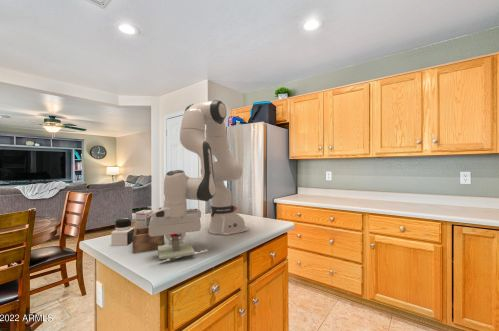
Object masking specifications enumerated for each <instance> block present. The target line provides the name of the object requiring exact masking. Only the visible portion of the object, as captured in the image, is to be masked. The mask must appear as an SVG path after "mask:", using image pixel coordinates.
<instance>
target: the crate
mask: <svg viewBox="0 0 499 331" xmlns="http://www.w3.org/2000/svg"><path fill="white" fill-rule="evenodd" d="M161 245H165V235H161V236H153V237H150V236H149V227H145V228H136V227H135V228H134V233H133V242H132V254H138V253H144V252H145V253H146V252H151V251H158V246H161Z"/></svg>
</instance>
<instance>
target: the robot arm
mask: <svg viewBox="0 0 499 331" xmlns="http://www.w3.org/2000/svg"><path fill="white" fill-rule="evenodd" d="M182 116H183V117H182V119H181V125H180V132H179V141H180V144H181V145H182V147H184V148H185V149H186V150H187V151H189V152H191V153H194V154H197V155H198V156H199V158H200V174H201V176H200V177H189V176H187V175H186V172H185V170H182V169H177V170H176V169H175V170H170V171H167V172H166V173H165V175H164V180H163V181H164V182H163V194H164V195H163V196H164V201H163V206H161V207H158V208H155V209H153V211H152V218H151V219H150V223H149V236H150V237H153V236H161V235H164V236H165V239H166V240H167V241H168V245H173V240H172V239H170V238H171V237H170V234H178V233H181V234H182V236H180V238H179V241H180V244H183V242H184V241H183V240H184V238H185V237H186V233H192V232H199V231H200V230H201V229H202V224H201V217H202V212H201V210H200V209H198V208H187V206H188V204H187V202H188V201H187V200H194V201H202V202H208V201H210V200H211V202H210V203H211V205H210V224H209V227H208V233H210V234H214V235H222V236H229V235H230V236H231V235H234V234H239V233H244V231H245V232H249V230H250V229H249V226H248V225H246V223H245V220H244V218H243V216H241V215H240V214H238V213H237V212H236V211H237V210H238V207H237V206H236V205H232V192H231V190H230V189H229V188H228V187H227V186H226V185H225V183H224V181H225V182H233V181H237V180H240V178H242V175H243V167H242V165H241V164H240V163H239V161H237V160H236V159H235V158H234V156H233V155H232V153H231V150H230V148H229V141H228V133H227V128H226V123H225V119H226V117H227V108H226V106H225V104H224V102H222V100H217V99H215V100H206V101H201V102H198V103H195V104H194V103H191V104H190V105H188V106H186V108H185V110H184V111H183V114H182ZM213 157H215V159H216V161H215V160H213Z"/></svg>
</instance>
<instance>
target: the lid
mask: <svg viewBox="0 0 499 331" xmlns="http://www.w3.org/2000/svg"><path fill="white" fill-rule="evenodd" d="M179 239H180V238H179V237H178V236H177V237H172V238H171V240H173V245H169V244H164V245H161V246H158V250H157V252H158V260H169V259H174V258H175V259H176V258H180V257H181V258H182V257H187V256H190V255H195V253H196V251H195V250H194V248H193V246H192V244H191V241H185V242H184V241H183V244H180V241H179Z"/></svg>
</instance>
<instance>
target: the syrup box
mask: <svg viewBox="0 0 499 331" xmlns="http://www.w3.org/2000/svg"><path fill="white" fill-rule="evenodd" d="M153 210H154V209H153ZM153 210H152V209H143V210H140V211H136V212H135V213H134V214H135V229H136V228H145V227H149V223H150V219H151V218H152V211H153Z"/></svg>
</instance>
